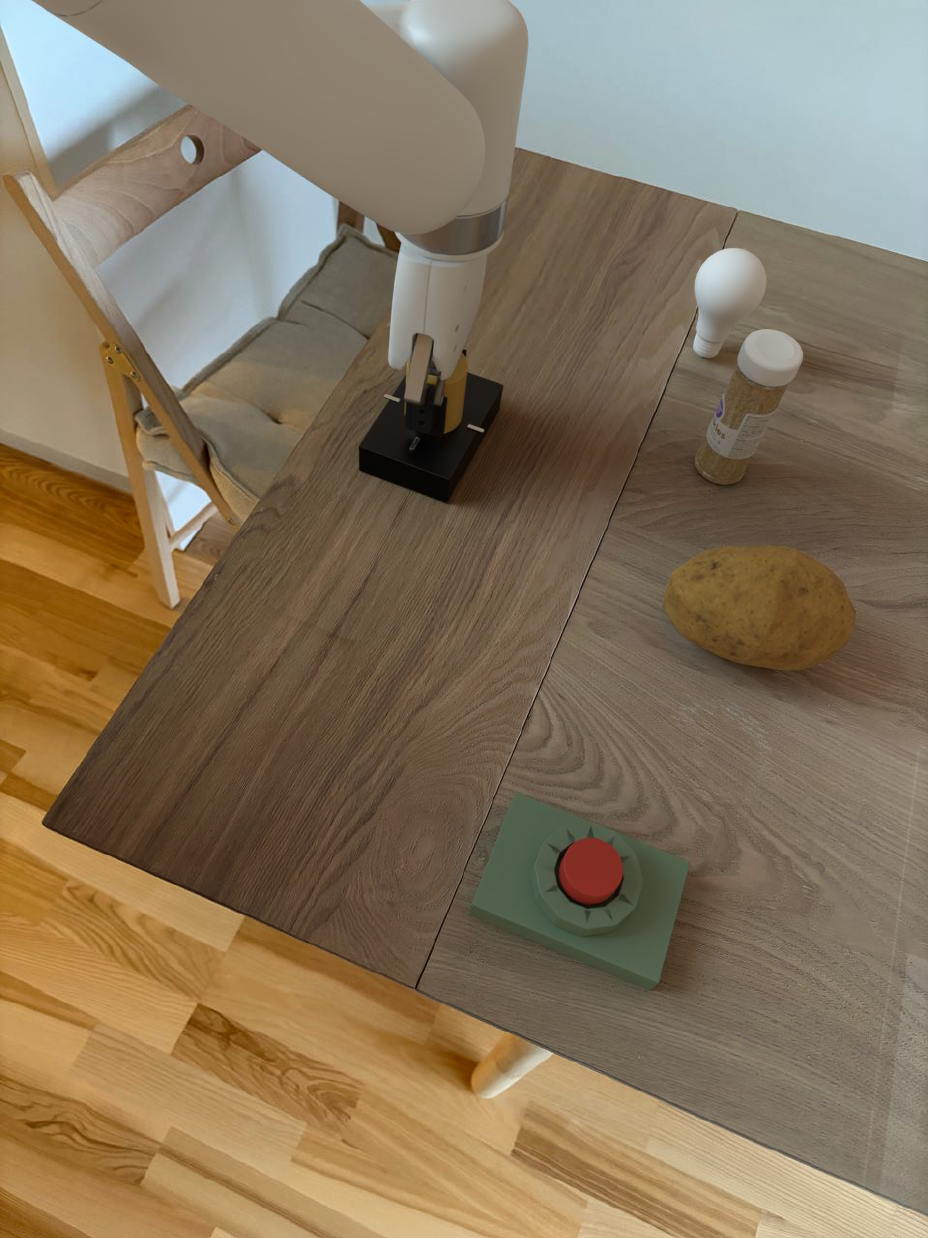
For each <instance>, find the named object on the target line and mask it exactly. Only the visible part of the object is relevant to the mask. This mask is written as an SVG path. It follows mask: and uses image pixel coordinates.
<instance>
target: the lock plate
mask: <svg viewBox="0 0 928 1238" xmlns="http://www.w3.org/2000/svg"><path fill="white" fill-rule="evenodd" d="M405 391H406V374H405V375H404V377H403V378H402V380H401V381H400V383H399V385H398V386H397V387H396V389H395V391H394V392H393V393H392V395H391V394H388V393H385V394H384V395H383V398H384V399H386V400H387V402H386V404H385V405H384V407H383V408H382V410H381V411H380V412H379V415H378V416H377V417H376V419H375V420H374V422H373V424H372V425H371V426H370V428H369V430H368V431H367V433H365V436H364V437H363V439H361V442H360V443H359V445H358V471H359V472H362V473H364V474H367V475H370V476H373V477H375V478H377V479H380V480H383V481H385V482H388V483H391V484H394V485H397V486H399V487H401V488H405V489H407V490H409V491H412V492H415V493H417V494H420V495H423V496H426V497H428V498H431V499H433V500H436V501H439V502H442V503H444V504H448V503H449V501H450V499H451V498H452V496H453V494H454V492H455V491H456V488H457V487H458V485H459V483H460V481H461V480H462V478H463V476H464V474H465V472H466V470H467V469H468V467H469V465H470V464H471V462H472V460H473V458H474V457H475V454H476V453H477V451H478V449H479V447H480V445H481V444H482V442H483V440H484V438H485V437H486V435H487V433H488V431H489V429H490V428H491V426H492V424H493V423H494V421H495V419H496V418H497V415H498V414H499V412H500V411H501V410H500V409H501V403H502V398H503V397H502V396H503V391H504V384H502V383H499V382H496V381H493V380H491V379H488V378H485V377H482V376H480V375H478V374H477V375H476V374H475V373H471V372H469V371H467V379H466V388H465V397H464V405H463V414H462V420H461V422H460V424H459V425H458V426H457V427H456V428H455V429H454V430H452V431H450V432H448V433H445V434H443V436H442V437H436V436H432V435H428V434H424V433H420V432H417V431H413V430H409V429H407V428H406V427H405V401H404V395H405Z"/></svg>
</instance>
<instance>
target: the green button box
mask: <svg viewBox="0 0 928 1238" xmlns="http://www.w3.org/2000/svg"><path fill="white" fill-rule="evenodd" d="M584 838H596V839H600V840H603V841H605V842H607V843H608V844H610V845H611V846H612V847H613V848H614V849H615V850H616V851H617V853H618V854H619V856H620V858H621V861H622V865H623V876H622V880H621V882H620V884H619V886H618V887H617V889H616V890H615V891H614V893H613V894H612V895H611V896H610V897H609V898H608V899H607V900H606V901H604V902H602V903H599V904H595V905H587V904H582V903H579V902H577V901H575V900H574V899H572V898H571V897H570V896H569V895H568V894H567V893H566V892H565V890H564V889H563V887H562V885H561V882H560V878H559V867H560V864H561V861H562V859H563V857H564V856H565V854H566V852H567V850H568V849H569V847H570V846H571V845H572V844H573V843H575V842H576V841H578V840H581V839H584ZM690 865H691V861H689V860H687V859H685V858H682V857H679V856H677V855H675V854H672V853H669V852H667V851H664V850H662V849H660V848H657V847H655V846H652V845H649V844H648V843H645V842H642V841H640V840H637V839H635V838H632V837H630V836H627V835H625V834H623V833H619V832H618V831H616V830H613V829H611V828H609V827H606V826H604V825H601V824H599V823H596V822H593V821H590V820H587V819H584V818H582V817H579V816H578V815H574V814H572V813H569V812H567V811H565V810H562V809H560V808H557V807H554V806H552V805H549V804H547V803H544V802H542V801H539V800H538V799H534V798H532V797H529V796H528V795H525V794H522V793H519V792H517V791H515V792H514V793H513V795H512V798H511V801H510V803H509V806H508V808H507V811H506V813H505V817H504V818H503V822H502V824H501V827H500V829H499V832H498V835H497V837H496V840H495V842H494V845H493V847H492V849H491V853H490V855H489V858H488V860H487V863H486V865H485V868H484V871H483V873H482V875H481V878H480V881H479V883H478V885H477V889H476V891H475V894H474V897H473V898H472V901H471V905H470V907H469V911H468V913H467V914H468V916H471V917H473V918H475V919H476V918H477V919H478V920H481V921H483V922H485V923H488V924H490V925H492V926H494V927H497V928H499V929H502V930H504V931H507V932H509V933H512V934H514V935H516V936H518V937H521V938H524V939H526V940H528V941H531V942H533V943H536V944H538V945H540V946H542V947H545V948H547V949H549V950H551V951H554V952H556V953H559V954H561V955H564V956H567V957H569V958H571V959H574V960H576V961H578V962H581V963H583V964H585V965H587V966H590V967H592V968H595V969H597V970H600V971H602V972H604V973H607V974H609V975H611V976H613V977H616V978H619V979H621V980H623V981H626V982H629V983H631V984H632V985H635V986H638V987H641V988H642V989H645V990H647V991H651V990H653V988H655V987H656V986H657V985H658V984H659V983H660V980H661V976H662V972H663V970H664V966H665V961H666V957H667V955H668V950H669V946H670V942H671V939H672V936H673V931H674V927H675V923H676V920H677V915H678V912H679V908H680V904H681V900H682V896H683V892H684V889H685V885H686V881H687V877H688V874H689V869H690Z"/></svg>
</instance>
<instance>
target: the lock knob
mask: <svg viewBox="0 0 928 1238" xmlns="http://www.w3.org/2000/svg"><path fill="white" fill-rule="evenodd" d="M410 357H411V356H410ZM410 357H409V359H408V361H407V362H406V371H405V372H406V373H405V375H406V386H407V381H408V373H409V364H410ZM432 361H433V358H432ZM468 370H469V362H468V359H467V356H466V357H465V356H464V354H463V353H461V355H460V358H459V360H458V362H457V365H456V367H455V369H454V371H453V373H452V375H451V376H450V377H449V378H448V379H446V385H445V391H444V396H445V397H447V398H448V400H447V411H446V421H445V431H444V434H445V433H448V432H450V431H452V430H454V429H455V428H456V427H457V426H458V425H459V424H460V422H461V420H462V414H463V405H464V397H465V388H466V379H467V372H468ZM436 381H437V376H433V375H428V380H427V387H431V388H436ZM405 409H406V402H405Z"/></svg>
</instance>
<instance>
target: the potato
mask: <svg viewBox="0 0 928 1238" xmlns="http://www.w3.org/2000/svg"><path fill="white" fill-rule="evenodd" d="M662 608H663V610H664V612H665V613H666V615H667V617H668V618H669V620H670V622H671V623H672V625H673V627H674V628H675V630H676V631H677V633H678V634H679V636H680V637H682V638H684V639H686V640H687V641H689V642H690V643H692V644H694V645H696V646H697V647H699V648H701V649H703V650H705V651H707V652H709V653H711V654H713V655H715V656H717V657H719V658H722V659H724V660H727V661H730V662H733V663H735V664H739V665H746V666H752V667H757V668H766V669H772V670H779V671H802V670H805V669H809V668H813V667H816V666H818V665H820V664H823V663H824V662H826V661H827V660H829V659H830V658H831V657H833V656H835V655H836V654H837V653H839V652H841V650H842V649H843V648H844V647H845V646H846V644H847V643H848V641H849V639H850V636H851V634H852V632H853V630H854V627H855V625H856V616H857V615H856V614H857V611H856V609H855V608H854V605H853V604H852V602H851V599H850V597H849V595H848V592H847V589H846V586H845V583H844V581H842V580H841V578H840V577H839V576H838V575H837V574H836V573H835V572H834V571H833V570H832V569H831V568H830V567H828V566H826V565H824V564H823V563H821V562H820V561H818V559H815V558H814V557H812V556H810V555H808V554H806V553H805V552H803V551H801V550H799V549H798V548H795V547H788V546H783V545H777V544H767V545H764V544H763V545H726V546H721V547H715V548H708V549H705V550H704V551H701V552H700V553H699V554H697V555H696V556H694V557H692V558H691V559H689V560H688V561H687V562H684V563H683V564H682V565H680V566H678V567H677V568H676V569H674V570H672V572H671V573H670V576H669V578H668V581H667V584H666V586H665V589H664V592H663V595H662Z"/></svg>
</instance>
